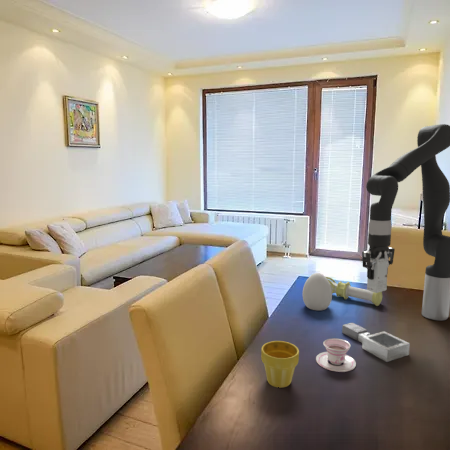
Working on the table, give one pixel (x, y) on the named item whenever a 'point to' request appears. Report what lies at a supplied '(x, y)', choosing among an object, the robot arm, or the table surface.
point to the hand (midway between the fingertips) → (377, 277)
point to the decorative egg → (317, 292)
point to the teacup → (336, 356)
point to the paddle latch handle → (378, 342)
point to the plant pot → (279, 362)
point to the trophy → (354, 292)
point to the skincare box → (378, 277)
